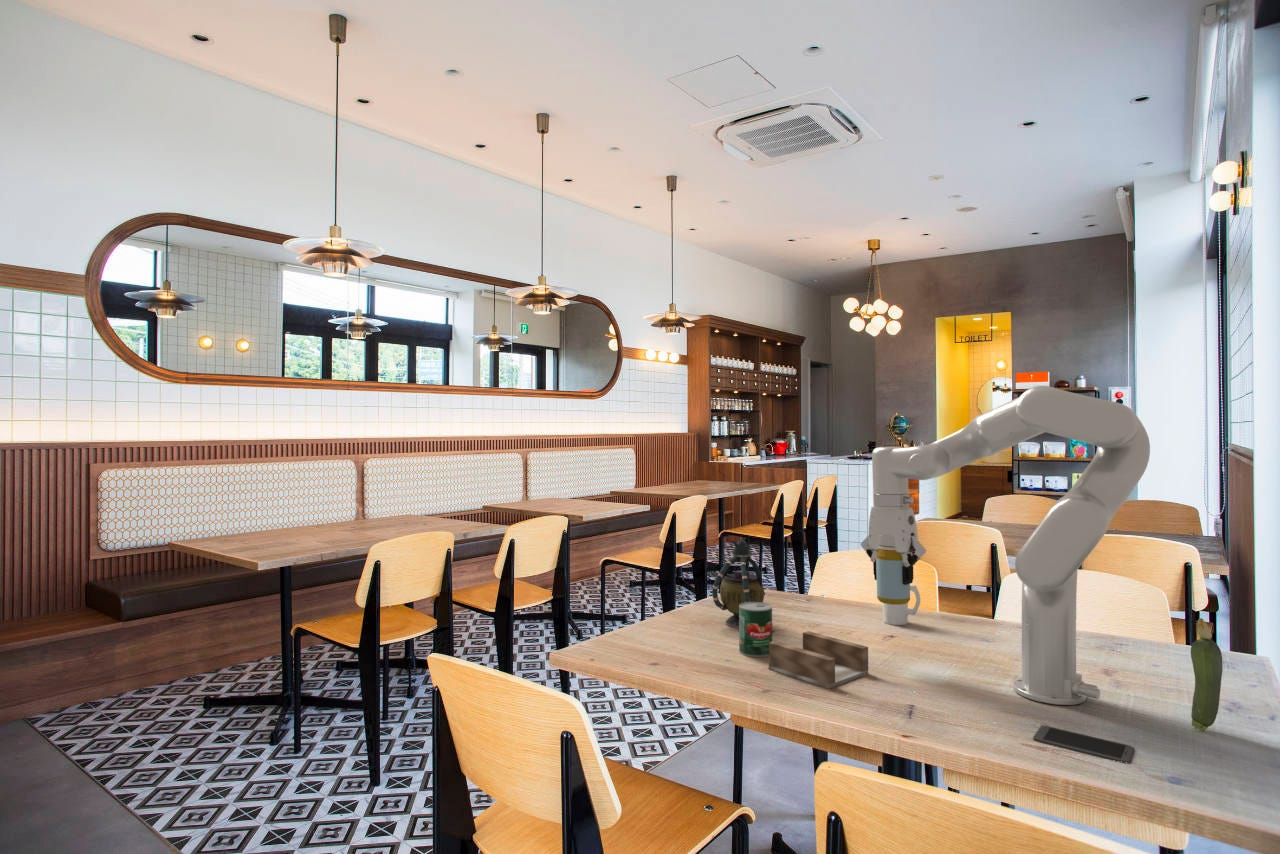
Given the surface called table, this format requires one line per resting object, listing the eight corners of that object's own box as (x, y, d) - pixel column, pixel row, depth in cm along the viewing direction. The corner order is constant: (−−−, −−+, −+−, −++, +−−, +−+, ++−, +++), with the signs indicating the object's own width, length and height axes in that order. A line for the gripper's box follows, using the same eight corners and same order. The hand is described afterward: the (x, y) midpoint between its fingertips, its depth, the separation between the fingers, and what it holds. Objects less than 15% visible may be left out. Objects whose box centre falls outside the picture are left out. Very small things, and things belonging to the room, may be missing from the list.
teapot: (708, 629, 192) (708, 541, 192) (742, 608, 214) (742, 529, 214) (751, 635, 186) (751, 545, 186) (782, 613, 208) (781, 532, 208)
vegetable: (1208, 726, 128) (1208, 614, 128) (1229, 736, 124) (1229, 620, 124) (1184, 726, 128) (1184, 614, 128) (1204, 737, 124) (1204, 621, 124)
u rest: (868, 673, 157) (868, 646, 157) (829, 688, 148) (829, 660, 148) (808, 655, 169) (808, 631, 169) (768, 668, 160) (768, 642, 160)
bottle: (905, 597, 165) (903, 532, 165) (914, 605, 158) (912, 536, 158) (874, 597, 166) (872, 532, 166) (881, 605, 159) (879, 536, 159)
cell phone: (1041, 728, 129) (1041, 724, 129) (1135, 751, 120) (1135, 746, 120) (1031, 742, 123) (1031, 738, 123) (1129, 767, 114) (1129, 762, 114)
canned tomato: (757, 659, 167) (757, 611, 167) (732, 651, 173) (732, 605, 173) (779, 652, 172) (779, 606, 172) (754, 644, 178) (754, 600, 178)
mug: (878, 623, 197) (878, 579, 197) (887, 617, 202) (886, 575, 202) (916, 629, 191) (916, 583, 191) (924, 623, 196) (923, 579, 196)
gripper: (936, 502, 158) (938, 584, 158) (866, 498, 171) (869, 574, 171) (917, 504, 153) (920, 589, 153) (848, 500, 167) (850, 578, 166)
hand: (893, 580), depth 162 cm, fingers closed on bottle, 6 cm apart
